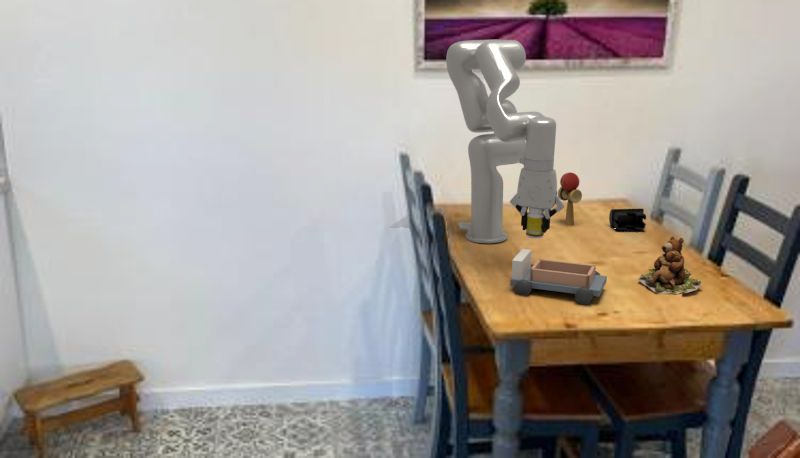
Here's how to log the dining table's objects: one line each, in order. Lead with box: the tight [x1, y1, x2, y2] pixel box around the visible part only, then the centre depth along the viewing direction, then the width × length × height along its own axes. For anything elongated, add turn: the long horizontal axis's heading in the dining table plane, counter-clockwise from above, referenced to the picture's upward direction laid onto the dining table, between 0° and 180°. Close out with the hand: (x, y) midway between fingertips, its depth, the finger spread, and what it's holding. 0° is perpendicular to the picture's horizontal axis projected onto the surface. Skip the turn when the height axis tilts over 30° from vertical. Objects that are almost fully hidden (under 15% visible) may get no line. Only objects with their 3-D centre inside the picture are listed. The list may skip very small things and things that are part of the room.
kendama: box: [557, 172, 583, 227], centre depth 247 cm, size 8×6×18 cm
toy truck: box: [509, 248, 608, 306], centre depth 194 cm, size 22×14×8 cm, turn 67°
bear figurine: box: [638, 235, 703, 295], centre depth 197 cm, size 14×15×12 cm
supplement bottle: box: [525, 207, 545, 239], centre depth 208 cm, size 5×5×8 cm
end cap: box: [608, 208, 647, 233], centre depth 244 cm, size 10×7×7 cm
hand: (535, 229), depth 208 cm, fingers closed on supplement bottle, 4 cm apart
